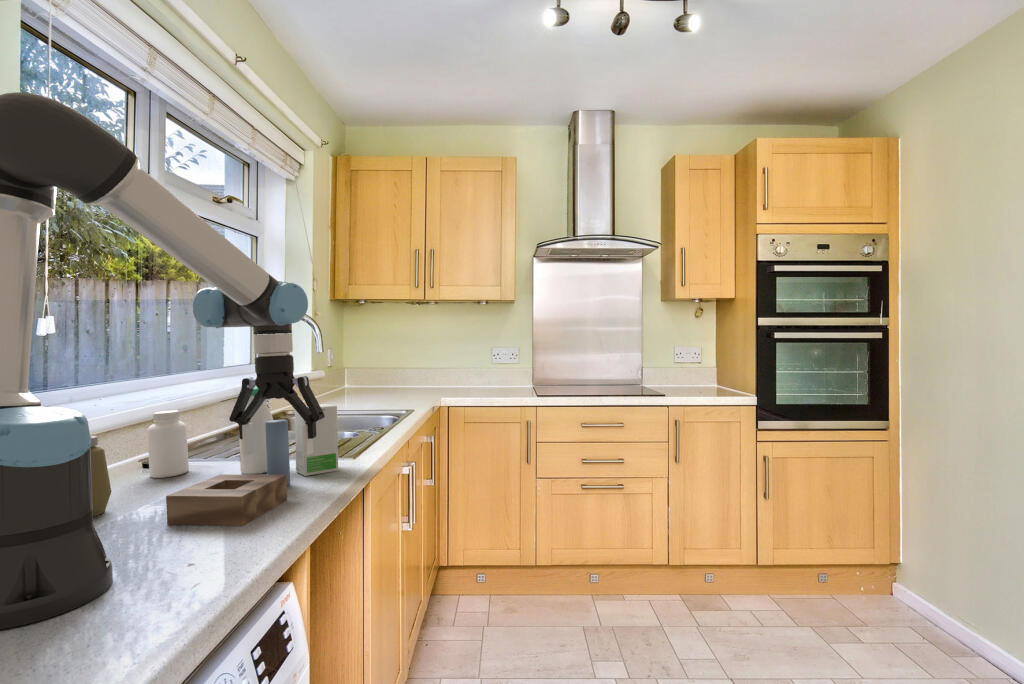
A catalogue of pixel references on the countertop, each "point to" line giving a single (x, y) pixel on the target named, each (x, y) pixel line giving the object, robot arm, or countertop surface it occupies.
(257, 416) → the milk bottle
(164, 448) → the pill bottle
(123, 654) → the countertop surface
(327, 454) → the skincare box
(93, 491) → the squeeze bottle
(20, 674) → the countertop surface
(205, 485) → the socket block
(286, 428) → the peg
